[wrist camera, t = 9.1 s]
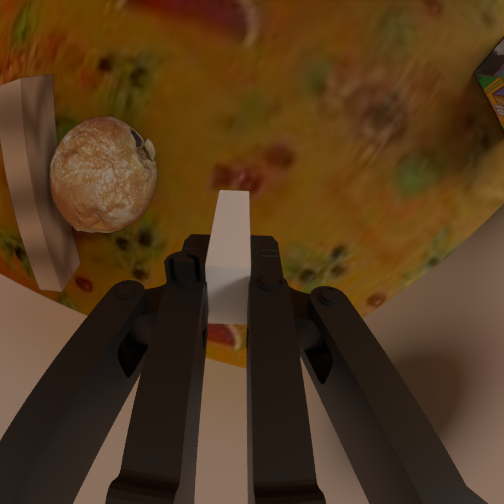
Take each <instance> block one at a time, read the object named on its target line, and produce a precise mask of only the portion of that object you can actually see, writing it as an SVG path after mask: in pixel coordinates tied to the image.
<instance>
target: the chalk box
mask: <svg viewBox="0 0 504 504" xmlns="http://www.w3.org/2000/svg"><path fill="white" fill-rule="evenodd" d="M474 74H475V76H476V78H477V80H478V81H479V83H480V85H481V87H482V88H483V90H484V92H485V94H486V96H487V98H488V99H489V101H490V103H491V105H492V107H493V109H494V111H495V113H496V115H497V117H498V119H499V121H500V124H501V126H502V128H503V130H504V38H503V40H502V41H501V42H500V43H499V44H498V45H497V46H496V48H495V49H494V50H493V51H492V52H491V54H490V55H489V56H488V57H487V58H486V60H485V61H484V62H483V63H482V64H481V65H480V67H479V68H478V69H477V70H476V71H475V73H474Z"/></svg>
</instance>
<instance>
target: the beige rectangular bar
mask: <svg viewBox="0 0 504 504" xmlns="http://www.w3.org/2000/svg"><path fill="white" fill-rule="evenodd" d="M0 139H1V147H2V154H3V160H4V166H5V172H6V177H7V182H8V187H9V192H10V196H11V200H12V205H13V209H14V212H15V216H16V220H17V224H18V227H19V231H20V234H21V237H22V241H23V244H24V247H25V250H26V253H27V256H28V259H29V262H30V265H31V268H32V270H33V273H34V276H35V278H36V281H37V284H38V286H39V289H40V290H49V291H60V292H62V291H63V289H64V288H65V286H66V285H67V283H68V282H69V280H70V279H71V277H72V276H73V274H74V273H75V271H76V270H77V268H78V267H79V265H80V264H81V262H80V258H79V254H78V251H77V247H76V243H75V239H74V235H73V231H72V226H71V225H70V224H69V223H68V221H66V220H65V218H64V217H63V216H62V215H61V213H60V212H59V210H58V208H57V207H56V205H55V203H54V201H53V199H52V195H51V190H50V177H49V176H50V164H51V161H52V159H53V156H54V154H55V151H56V148H57V147H58V145H57V136H56V125H55V112H54V92H53V75H44V76H35V77H27V78H20V79H18V80H15V81H12V82H9V83H7V84H4V85H2V86H0Z"/></svg>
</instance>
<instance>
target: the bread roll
mask: <svg viewBox="0 0 504 504" xmlns="http://www.w3.org/2000/svg"><path fill="white" fill-rule="evenodd" d="M155 155H156V151H155V149H154V146H153V144H152V142H151V141H150V140H149V139H148V138H147V139H146V140H144V139H143V138H142V137H141V135H140V134H138V133H137V132H136V131H135V130H134V129H133V128H132V127H130V126H129V125H128V124H127V123H126V122H123V121H121V120H119V119H117V118H115V117H111V116H99V117H94V118H90V119H88V120H86V121H84V122H82V123H80V124H79V125H77V126H75V127H74V128H73V129H71V130H70V131H69V132H68V133H67V134H66V135H65V136H64V138H63V139H62V140H61V141H60V144H59V145H58V147H57V148H56V151H55V154H54V156H53V159H52V161H51V164H50V176H49V177H50V190H51V195H52V199H53V201H54V203H55V205H56V207H57V208H58V210H59V212H60V213H61V215H62V216H63V217H64V218H65V220H66V221H68V223H69V224H70V225H71V226H73V227H74V228H75V229H76V230H77V231H85V232H91V233H94V232H98V231H99V232H102V233H110V232H114V231H116V230H120V229H122V228H124V227H126V226H128V225H130V224H132V223H133V222H135V221H136V220H137V219H139V218H140V217H141V216H142V215H143V214H144V213H145V211H146V210H147V208H148V205H149V203H150V201H151V199H152V196H153V193H154V189H155V184H156V179H157V168H156V161H154V157H155Z"/></svg>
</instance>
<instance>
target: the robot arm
mask: <svg viewBox="0 0 504 504" xmlns="http://www.w3.org/2000/svg"><path fill="white" fill-rule="evenodd" d="M164 264H165V271H166V278H167V282H166V284H165V285H162V286H160V287H156V288H151V289H144V286H143V285H142V284H141V283H139V282H137V281H133V280H127V281H122V282H119V283H117V284H115V285H114V286H113V287H112V288H111V289H110V290H109V291H108V292H107V293H106V295H105V296H104V297H103V298H102V299H101V301H100V302H99V303H98V304H97V305H96V307H95V308H94V309H93V310H92V312H91V313H90V314H89V315H88V317H87V318H86V319H85V320H84V322H83V323H82V324H81V325H80V327H79V328H78V329H77V331H76V332H75V333H74V334H73V336H72V337H71V338H70V340H69V341H68V342H67V343H66V345H65V346H64V347H63V349H62V350H61V352H60V353H59V354H58V355H57V357H56V358H55V360H54V361H53V362H52V364H51V365H50V366H49V368H48V369H47V370H46V372H45V373H44V375H43V376H42V377H41V379H40V380H39V382H38V383H37V385H36V386H35V388H34V389H33V390H32V392H31V394H30V395H29V396H28V398H27V399H26V401H25V402H24V404H23V405H22V407H21V408H20V410H19V411H18V413H17V414H16V416H15V418H14V419H13V421H12V422H11V424H10V426H9V427H8V429H7V430H6V432H5V434H4V435H3V437H2V439H1V441H0V504H73V502H74V500H75V498H76V496H77V494H78V492H79V490H80V488H81V486H82V484H83V482H84V480H85V478H86V475H87V474H88V472H89V470H90V468H91V466H92V463H93V462H94V460H95V458H96V456H97V454H98V452H99V450H100V448H101V446H102V444H103V442H104V440H105V438H106V437H107V435H108V433H109V431H110V429H111V427H112V425H113V423H114V421H115V419H116V418H117V416H118V414H119V412H120V410H121V408H122V406H123V404H124V402H125V401H126V399H127V397H128V395H129V393H130V392H131V390H132V388H133V386H134V384H135V382H136V381H137V379H138V377H139V375H140V374H141V375H140V379H139V383H138V388H137V392H136V396H135V401H134V405H133V409H132V415H131V419H130V424H129V428H128V433H127V438H126V443H125V448H124V454H123V459H122V465H121V470H120V473H119V475H118V477H117V478H116V479H115V480H113V481H112V482H111V484H110V486H109V488H108V492H107V496H106V503H105V504H194V493H195V476H196V461H197V447H198V433H199V421H200V409H201V397H202V386H203V376H204V365H205V355H206V346H207V336H208V330H207V322H208V323H217V324H247V335H246V348H247V464H248V465H247V466H248V504H326V500H325V497H324V494H323V492H322V491H321V490H320V489H319V487H318V485H317V480H316V473H315V464H314V456H313V448H312V440H311V433H310V425H309V417H308V410H307V403H306V395H305V388H304V381H303V375H302V368H301V362H300V356H301V358H302V360H303V362H304V364H305V366H306V369H307V371H308V373H309V375H310V377H311V379H312V381H313V383H314V386H315V388H316V390H317V392H318V394H319V396H320V398H321V401H322V403H323V405H324V407H325V409H326V411H327V413H328V416H329V418H330V420H331V422H332V424H333V426H334V428H335V431H336V433H337V435H338V437H339V439H340V441H341V443H342V446H343V448H344V450H345V452H346V454H347V456H348V459H349V460H350V463H351V465H352V467H353V469H354V471H355V474H356V475H357V478H358V480H359V482H360V484H361V486H362V489H363V491H364V493H365V495H366V497H367V499H368V502H369V504H488V503H487V502H485V501H484V500H483V499H482V498H480V497H479V496H478V495H477V494H475V493H474V492H473V491H472V490H471V489H469V488H468V487H467V486H466V484H465V483H464V481H463V479H462V477H461V475H460V473H459V472H458V470H457V468H456V466H455V464H454V463H453V461H452V459H451V457H450V456H449V454H448V452H447V450H446V449H445V447H444V445H443V444H442V442H441V440H440V439H439V437H438V435H437V433H436V432H435V430H434V428H433V427H432V425H431V423H430V422H429V420H428V419H427V417H426V415H425V414H424V412H423V410H422V409H421V407H420V406H419V404H418V402H417V401H416V399H415V398H414V396H413V395H412V393H411V392H410V390H409V388H408V387H407V385H406V383H405V382H404V381H403V379H402V377H401V376H400V374H399V373H398V371H397V370H396V368H395V367H394V365H393V364H392V362H391V361H390V359H389V357H388V356H387V354H386V353H385V351H384V350H383V349H382V347H381V346H380V344H379V343H378V341H377V340H376V338H375V337H374V335H373V334H372V333H371V331H370V329H369V328H368V326H367V325H366V324H365V322H364V321H363V319H362V318H361V316H360V315H359V313H358V312H357V311H356V309H355V308H354V306H353V305H352V304H351V302H350V301H349V299H348V298H347V296H346V295H345V294H344V293H343V292H342V291H340V290H338V289H336V288H334V287H329V286H320V287H317V288H315V289H314V290H313V291H312V292H311V294H307V293H303V292H300V291H297V290H294V289H293V288H291V287H290V286H288V283H287V281H286V280H285V279H284V278H283V273H282V266H281V260H280V254H279V248H278V242H277V241H276V240H275V239H274V238H273V237H272V236H255V235H250V211H249V191H229V190H220V192H219V196H218V201H217V206H216V211H215V216H214V221H213V227H212V232H211V235H200V234H191V235H190V236H189V237H188V238H187V239H186V240H185V241H184V244H183V249H182V251H179V252H176V253H173V254H171V255H169V256H168V257H167V258H166V259H165V261H164ZM299 354H300V355H299Z"/></svg>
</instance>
